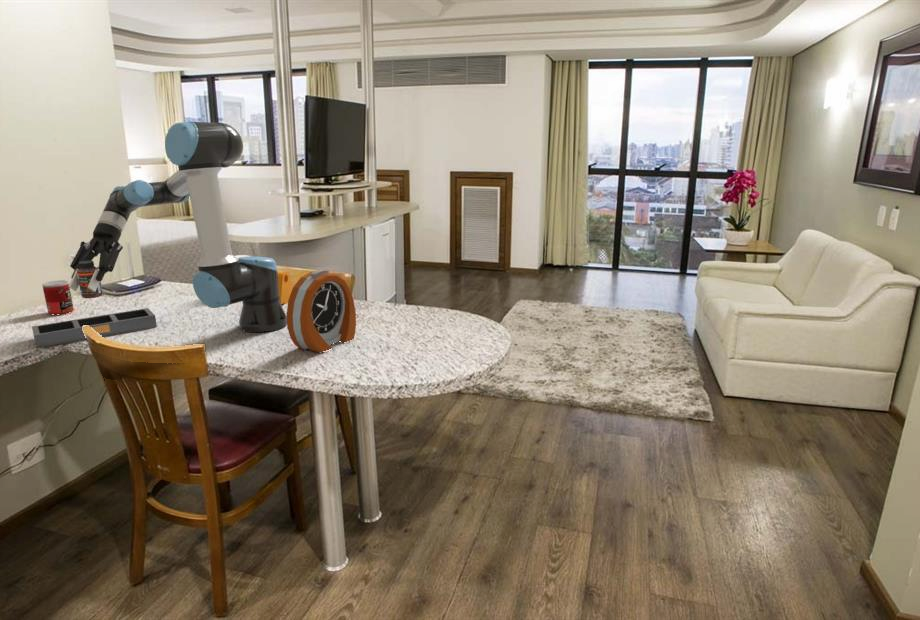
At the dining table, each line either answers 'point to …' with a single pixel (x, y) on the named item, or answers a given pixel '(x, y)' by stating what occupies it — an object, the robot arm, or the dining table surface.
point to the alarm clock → (320, 311)
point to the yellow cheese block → (284, 286)
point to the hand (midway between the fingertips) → (81, 289)
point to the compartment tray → (100, 324)
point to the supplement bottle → (87, 279)
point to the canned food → (58, 297)
